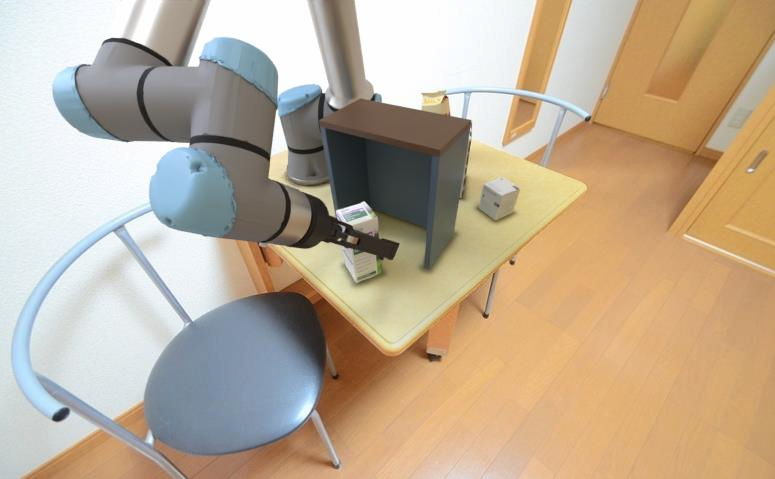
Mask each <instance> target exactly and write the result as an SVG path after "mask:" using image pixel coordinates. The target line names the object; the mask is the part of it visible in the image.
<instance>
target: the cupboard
mask: <svg viewBox="0 0 775 479" xmlns="http://www.w3.org/2000/svg"><path fill="white" fill-rule="evenodd" d="M471 120H472V119H468V118H463V117H459V116H458V117H457V116H453V115H451V116H448V115H443V114H438V113H433V112H428V111H422V109H416V108H412V107H408V106H407V107H406V106H402V105H396V104H391V103H386V102H382V103H381V102H376V101H371V100H366V99H359V100H357V101H355V102H353V103H351V104H349V105H347V106H345V107H343V108H341V109H340V110H338V111H336V112H334V113H332V114H330V115H328V116H326V117H324V118H322V119H320V120H319V123H320V129H321V135H322V141H323V147H324V152H325V158H326V164H327V170H328V175H329V181H328V182H329V186H330V187H329V188H330V192H331V198H332V204H333V211H334V217H335V218H337V215H336V211H337V210H339V209H343V208H346V207H349V206H353V205H357V204H360V203H361V202H364V201H365V203H366V204H367V205H368V206H369V207H370V208H371V209H372V210H375V211H377V212H381V213H383V214H386V215H388V216H391V217H394V218H396V219H400V220H402V221H405V222H408V223H410V224H413V225H416V226H419V227H422V228H425V229H426V234H425V245H424V246H425V249H424V261H423V269H425V270H428V271H430V269H432V267H433V266H434V264H435V262H436V261H437V259H438V258H439V257H440V255H441V253H442V252H443V251H444V249H445V248H446V246H447V245H448V244H449V242H450V241H451V240H452V238H453V236H454V235H455V231H456V230H455V229H456V225H457V224H456V223H457V216H458V210H459V204H460V199H461V198H460V191H461V185H462V178H463V172H464V165H465V159H466V153H467V146H468V140H469V133H470V126H471Z"/></svg>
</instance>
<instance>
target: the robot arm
mask: <svg viewBox="0 0 775 479" xmlns="http://www.w3.org/2000/svg"><path fill="white" fill-rule="evenodd" d="M306 1H307V6H308V10H309V13H310V14H309V15H310V17H311V22H312V25H313V29H314V33H315V37H316V40H317V44H318V49H319V52H320V56H321V60H322V64H323V68H324V71H325V72H324V73H325V76H326V80H327V84H328V86H327V88H326V90H325V92H323V89H322V87H321V86H320V85H319V84H315V83H308V84H302V85H298V86H294V87H291V88H288V89H286V90H284V91H282V92H281V93H280V94H279V72H278V69H277V66H276V64H274V61H272V59H271V58H270V57H269V56H268V55H267V54H266V53H265V52H264V51H262V50H261V49H260V48H259V47H256V46H255V45H253V44H251V43H249V42H247V41H245V40H241V39H239V38H234V37H229V36H219V37H214V38H212V39H211V40H210V41H207V42H206V43H204V45H203V47H202V50H201V53H200V56H199V57H198V59H199V64H198V66H189V64H190V61H191V59H192V55H193V53H194V50H195V47H196V45H197V41H198V39H199V35H200V33H201V29H202V26H203V23H204V21H205V18H206V15H207V12H208V9H209V7H210V3H211V0H120V1H119V3H118V6H117V8H116V10H115V13H114V15H113V18H112V19H111V22H110V24H109V26H108V28H107V31H106V33H105V36H104V38H103V40H102V42H101V45H100V47H99V49H98V51H97V53H96V55H95V58H94V59H93V62H92V63H91V64H90V63H89V64H87V63H80V64H78V65H74V66H70V67H69V66H68V67H66V68H64V69H62V70H60V71H59V72H58V73H57V74H56V75H55V77H54V79H53V82H52V85H51V89H52V90H51V93H52V99H53V103H54V104H55V107H56V109H57V111H58V112H59V114H60V115H61V117H62V118H63V119H64V121H65V122H67V123H68V124H69V125H70V127H73V128H74V129H76V130H77V131H78V133H81V134H84V135H86V136H89V137H91V138H96V139H101V140H108V141H116V142H121V143H131V142H160V143H161V142H167V143H177V144H178V143H179V144H189V146H188V147H186V146H181V147H180V146H179V147H176V148H173V149H171V150H169V151H168V152H166V153H165V154H164V155H163V156H162V157H161V158H160V159H159V161H158V162H157V163H156V170H155V173H154V174H153V175H151V177H150V181H149V186H148V200H149V204H150V208H151V210H152V212H153V214H154V216H155V217H156V219H157V221H159V222H160V223H161V224H163V225H164V226H166V227H167V228H169V229H172V230H175V231H178V232H184V233H190V234H193V235H194V234H195V235H201V236H203V237H205V238H206V237H210V238H215V239H224V240H233V241H241V242H251V243H259V244H258V246H259V247H260V248H264V249H265V248H268V245H269V244H272V245H274V246H275V245H276V246H282V247H287V248H292V249H293V248H295V249H303V250H307V249H311V248H315V247H316V246H318V245H319V244H320V243H321V242H323V243H326V244H329V243H332V244H335V245H338V246H341V247H342V246H344V247H345V248H351V249H356V250H359V251H363V252H366V253H370V254H373V255H377V256H379V258H378V259H380V260H381V262H382V261H384V260H385V259H387V260H388V261H393V260H394V258H395V257H396V256H397V252H398V249H399V247H400V242H397V241H394V240H390V239H387V238H383V237H381V238H380V237H379V238H377V237H374V236H371V235H369V234H366V233H363V232H360V231H357V230H355V229H353V226H352V225H350V224H347V223H345V222H342V221H339V220H338V219H337V218H336V216H334V215H330V212H329V209H328V206H327V205H326V204H325V202H324V201H323V200H322V199H320V198H319V197H317V196H315V195H312V194H310V193H307V192H304V191H302V190H300V189H298V188H295V187H294V186H291V185H288V184H285V183H283V182H281V181H278V180H274V179H271V178H269V176H270V168H271V156H272V148H273V141H274V132H275V126H276V115H278V117H279V122H280V125H281V128H282V131H283V136H284V139H285V143H286V147H287V165H286V174H287V177H288V179H289V180H290V181H291V182H292V183H294V184H297V185H301V186H316V185H317V186H318V185H322V184H325V183H328V182H330V181H329V175H328V170H327V164H326V158H325V152H324V147H323V141H322V135H321V129H320V123H319V120H320V119H322V118H324V117H326V116H328V115H330V114H332V113H334V112H336V111H338V110H340V109H341V108H343V107H345V106H347V105H349V104H351V103H353V102H355V101H357V100H359V99H366V100H371V101H376V102H381V103H383V97H382V94H381V93H378V92H375V90H374V86H373V84H372V82H370V81H369V80H368V79H367V78H366V71H365V64H364V56H363V50H362V42H361V35H360V28H359V21H358V14H357V7H356V0H306ZM278 94H279V95H278ZM340 225H342V226H345V231H344V232H342V227H341V226H340Z"/></svg>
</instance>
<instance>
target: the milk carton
mask: <svg viewBox="0 0 775 479" xmlns="http://www.w3.org/2000/svg"><path fill="white" fill-rule="evenodd" d="M446 93H447V89H443V90H438V91H435V92H420V94H421V95H422V101H421V110H422V111H428V112H433V113H438V114H443V115H448V116H452V114H451V108H450V107H451V106H450V98H449V96H448V95H447V94H446Z"/></svg>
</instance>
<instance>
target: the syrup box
mask: <svg viewBox="0 0 775 479" xmlns="http://www.w3.org/2000/svg"><path fill="white" fill-rule="evenodd" d="M336 215H337V219H338V220H339V221H342V222H345V223H347V224H350V225H352V226H353V229H355V230H357V231H360V232H363V233H366V234H369V235H371V236H374V237H377V238H380V231H379V229H380V228H379V218H378V216H377V215H376V213H375V212H374V211H373V209H372V208H370V207H369V206H368V205H367V204H366V203H365V201H364V202H361V203H360V204H357V205H353V206H349V207H346V208H343V209H339V210H337V211H336ZM340 226H341V227H342V232H344V231H345V226H342V225H340ZM341 248H342V253H343V258H344V264H345V267H346V268H347V270H348V271H349V273H350V276H352V278H353V279H352V280H354V282H355V283H356V284H359V283H360V282H363V281H366V280H369V279H370V278H374V277H376V276H378V275H381V274H382V260H380V259H378V258H379V256H377V255H373V254H370V253H366V252H363V251H359V250H356V249H351V248H345V247H344V246H341Z"/></svg>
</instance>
